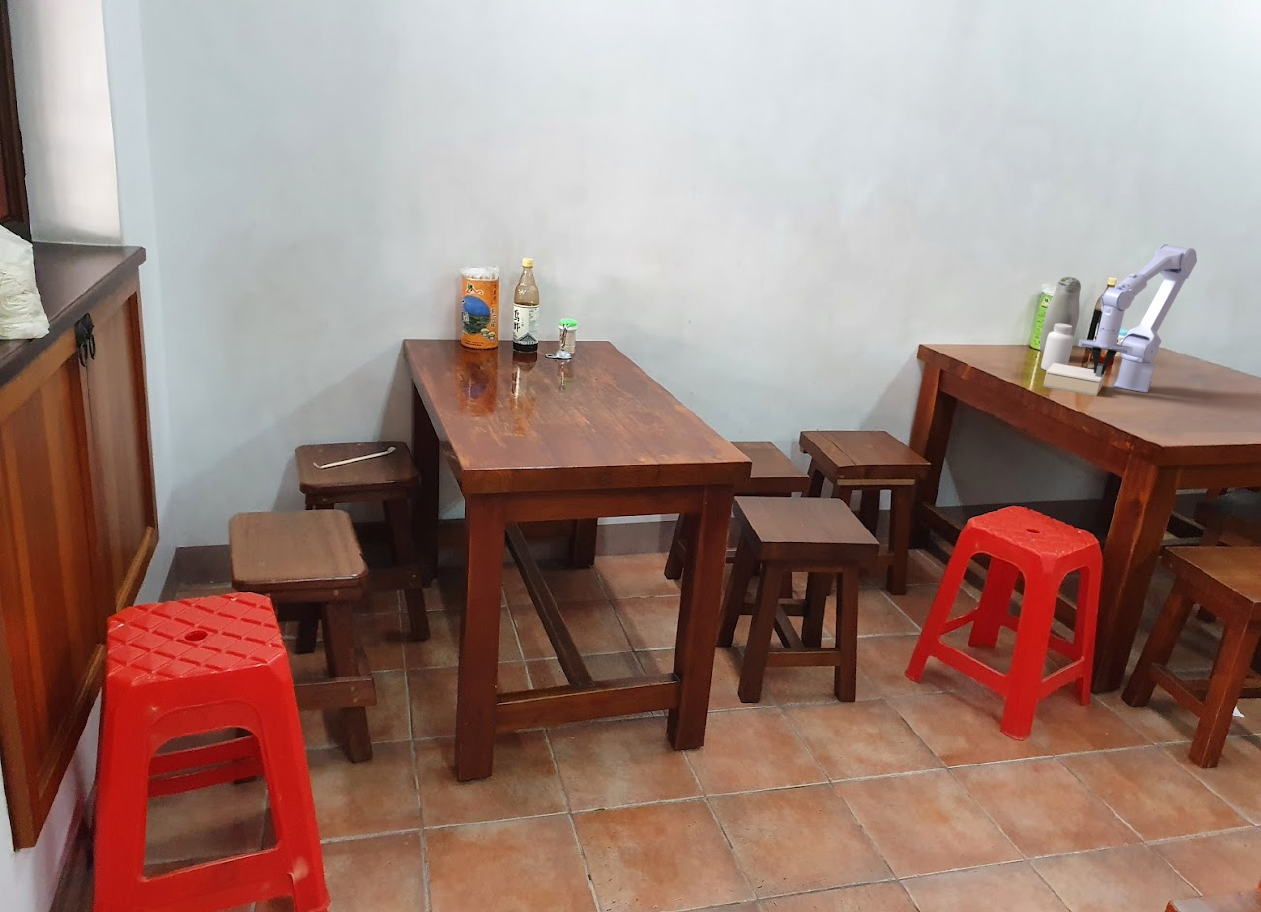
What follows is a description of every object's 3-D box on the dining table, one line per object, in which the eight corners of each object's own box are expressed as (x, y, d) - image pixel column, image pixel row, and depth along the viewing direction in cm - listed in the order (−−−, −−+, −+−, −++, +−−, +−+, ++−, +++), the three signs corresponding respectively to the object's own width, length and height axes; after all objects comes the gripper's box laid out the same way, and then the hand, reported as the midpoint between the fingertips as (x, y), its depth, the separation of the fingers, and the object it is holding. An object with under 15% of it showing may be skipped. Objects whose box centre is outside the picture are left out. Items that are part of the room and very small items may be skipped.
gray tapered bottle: (1030, 355, 332) (1047, 274, 322) (1054, 354, 335) (1072, 274, 326) (1050, 362, 323) (1068, 279, 314) (1074, 362, 326) (1093, 280, 317)
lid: (1105, 373, 294) (1107, 361, 293) (1099, 382, 283) (1102, 370, 282) (1053, 364, 301) (1056, 352, 300) (1046, 372, 290) (1048, 360, 289)
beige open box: (1101, 386, 296) (1104, 374, 294) (1096, 396, 284) (1099, 383, 283) (1050, 377, 303) (1053, 365, 301) (1043, 386, 291) (1045, 373, 290)
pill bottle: (1063, 374, 308) (1073, 328, 303) (1037, 369, 312) (1047, 324, 307) (1069, 370, 314) (1079, 325, 309) (1044, 365, 318) (1053, 321, 313)
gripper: (1081, 327, 284) (1071, 371, 289) (1134, 335, 277) (1123, 380, 282) (1084, 323, 290) (1074, 367, 295) (1137, 331, 283) (1126, 375, 288)
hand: (1098, 373), depth 289 cm, fingers closed on lid
